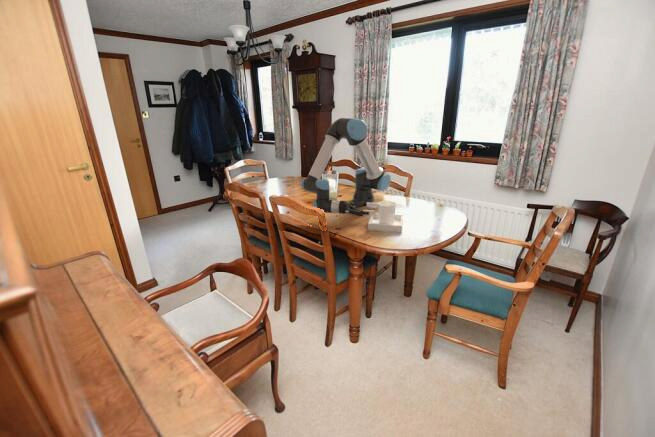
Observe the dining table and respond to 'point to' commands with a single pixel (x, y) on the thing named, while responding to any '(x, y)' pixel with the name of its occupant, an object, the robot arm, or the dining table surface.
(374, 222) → the crate
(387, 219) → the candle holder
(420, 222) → the dining table surface
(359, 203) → the robot arm
